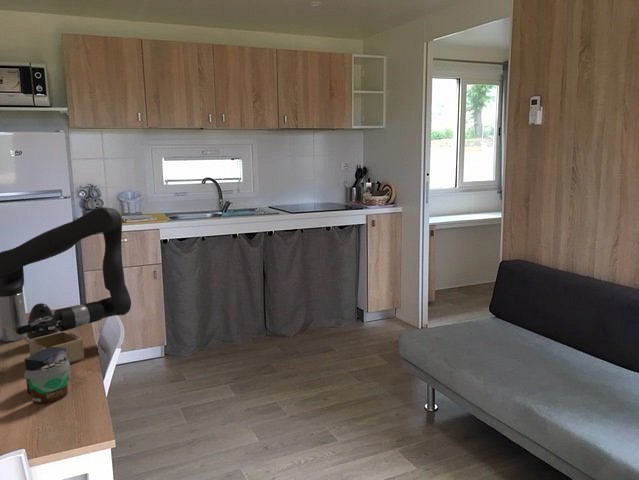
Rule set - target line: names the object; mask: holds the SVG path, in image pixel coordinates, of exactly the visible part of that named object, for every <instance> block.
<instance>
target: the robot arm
mask: <svg viewBox="0 0 639 480" xmlns="http://www.w3.org/2000/svg"><path fill="white" fill-rule="evenodd" d="M122 232H123V218H122V214H121V213H120V212H119V211H118V210H117V209H115V208H111V207H106V206H105V207H103V206H100V207H96V208H94V209H92V210H89V212H87V213H85V214H84V215H82V216H80V217H79V218H78V217H77V218H76V219H74V220H72V221H69V222H66V223H64V224H61V225H59V226H56V227H54V228H51V229H49V230H47V231H45V232H42V233H40V234H38V235H37V236H34V237H33V238H31V239H29V240H27V241H25V242H24V243H22V244H20V245H18V246H16V247H13V248H12V249H7V250H3V251H0V341H1V342H15V341H20V340H23V339H22V338H20V337H18V336H16V335H14V334H13V333H11V332H10V331H8V330H7V329H5V328H4V327H2V325H4V326H6V327H7V328H9V329H11V330H13V331H14V332H16V333H17V334H19V335H21V336H23V337H24V338H28V337H27V333H29V332H35V333H42V332H54V331H55V328H57V329H58V330H59V332H62V331H69V330H73V329H77V328H81V327H84V326H85V325H89V324H92V323H97V322H99V321H101V320H102V319H105V318H110V317H114V316H116V317H117V316H126V315H127V314H128V313H129V312H130V310H131V308H132V301H131V296H130V294H129V290H128V287H127V285H126V281H125V273H124V264H123V256H122V255H123V253H122V252H123V251H122V250H123V249H122V246H123V245H122V235H123V234H122ZM101 233H102V235H103V239H104V255H103V260H102V276H103V283H104V287H105V290H108V291H109V295H110V296H109V297H106V298H103V299H99V300H97V301H91V302H87V303H83V304H76V305H72V306H66V307H62V308H59V309H56V310H55V311H54V313H53V315H54V316H53V317H50V316H47V317H44V318H42V319H41V317H37V318H35V319H34V320H32V321H30V322H28V320H27V313H26V307H25V306H26V304H25V298H24V289H23V288H24V285H25V273H24V267H26V266H28V265H30V264H34V263H38V262H41V261H44V260H47V259H49V258H52V257H56V256H57V255H60V254H63V253H65V252H66V251H68V250H70V249H71V248H73V247H74V246H75V245H76V244H77V243H79V242H81V241H82V240H83V239H85V238H88V237H91V236H94V235H98V234H101Z"/></svg>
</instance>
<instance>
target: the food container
mask: <svg viewBox="0 0 639 480" xmlns="http://www.w3.org/2000/svg"><path fill="white" fill-rule="evenodd" d="M70 366H71V363H70V364H69V361H68V359H67V358H66V357H64V359H63V360H61V361H58V362H55V363H51V364H47V365H44V366H42V367H40V368H38V369H36V370H34V371H28V370H25V372H24V377H23V378H24V379H26V378H27V380H28V384H29V388H30V393H29V394H30V396H31V400H32V403H33V404H35V405H45V404H51V403H55V402H58V401H60V400H63V399H64V398H66V397H67V395H68V392H69V391H68V389H69V388H68V385H69V384H68V381H69V380H68V377H67V369H68V370H69V369H70ZM27 380H26V381H27Z"/></svg>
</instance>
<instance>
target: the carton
mask: <svg viewBox="0 0 639 480" xmlns="http://www.w3.org/2000/svg"><path fill="white" fill-rule="evenodd" d="M28 340H29V339H28ZM29 341H31V342H33V343H34V344H36V345H38V346H39V348H37V347H36V346H34V345H32V344H31V343H29V342H28V347H29V356H31V355H33V354H35V353H37V352H39V351H41V350H43V349H45V348H47V347H49V346H50V347H60V348H66V355H67V359H68V361H69V364H70V365H71V364H72V363H76V362H80V361H83V360H85V350H84V339H83V338H82V337H80V336H78V335H76V334H74V333H73V332H70V331H69V330H66V331H62V332H61V331H59V332H58V333H54V334H50V335H46V336H42V337H38V338H34V339H30V340H29Z"/></svg>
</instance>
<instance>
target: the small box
mask: <svg viewBox="0 0 639 480" xmlns="http://www.w3.org/2000/svg"><path fill="white" fill-rule="evenodd" d="M64 357H66V358H67V355H66V348H60V347H50V346H49V347H47V348H45V349H43V350H41V351H39V352H37V353H35V354H33V355H31V356H30V355H29V356H27V357H24V360H23V361H24V369H25V370H28V371H34V370H36V369H38V368H40V367H42V366H44V365H47V364H51V363H55V362H58V361H61V360H63V359H64ZM69 376H70V375H69V369H67V377H68V381H69V380H70V377H69ZM25 379H26V387H27V388H26V389H27V393H28V394H31V393H30V388H29V384H28V380H27V378H25Z"/></svg>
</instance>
